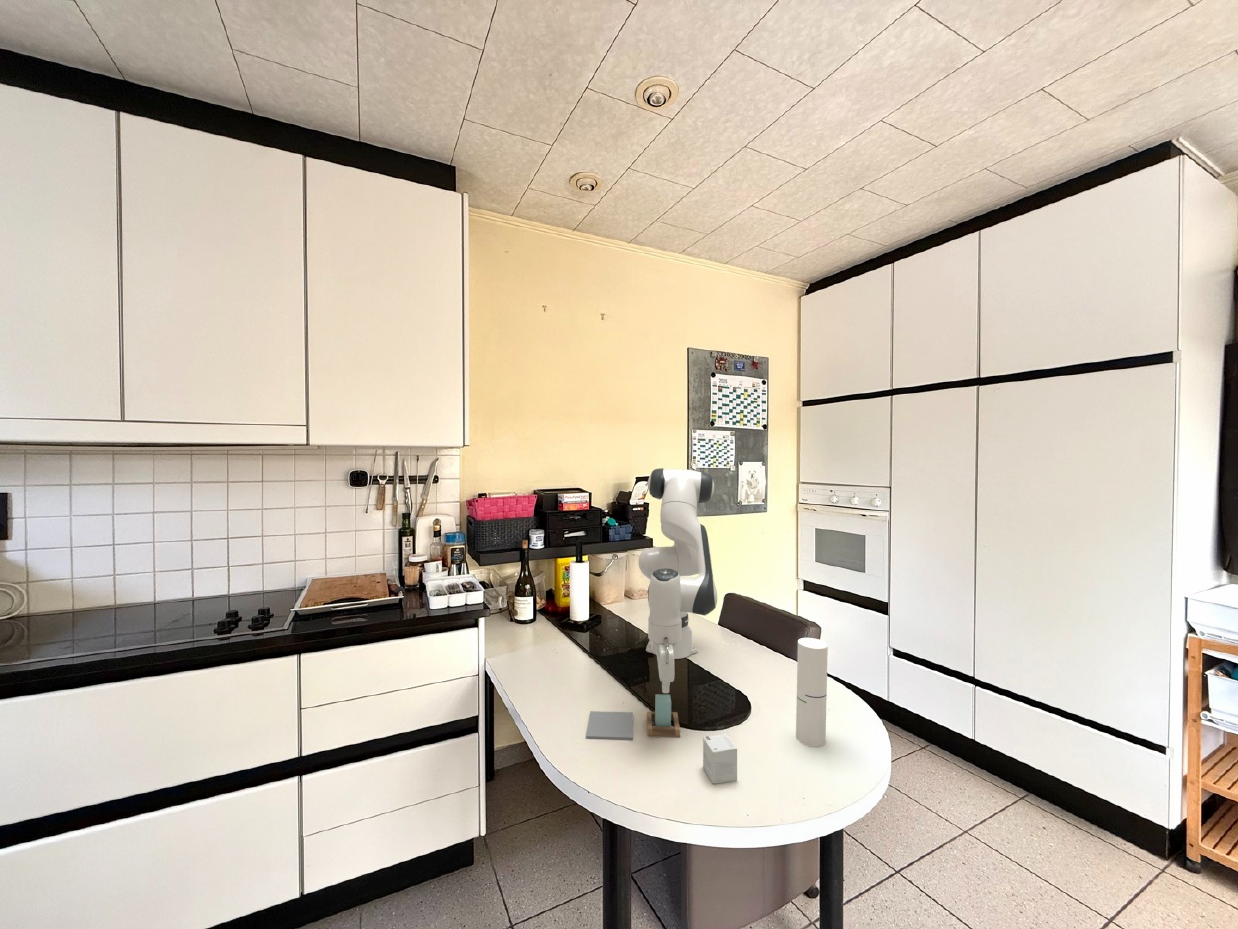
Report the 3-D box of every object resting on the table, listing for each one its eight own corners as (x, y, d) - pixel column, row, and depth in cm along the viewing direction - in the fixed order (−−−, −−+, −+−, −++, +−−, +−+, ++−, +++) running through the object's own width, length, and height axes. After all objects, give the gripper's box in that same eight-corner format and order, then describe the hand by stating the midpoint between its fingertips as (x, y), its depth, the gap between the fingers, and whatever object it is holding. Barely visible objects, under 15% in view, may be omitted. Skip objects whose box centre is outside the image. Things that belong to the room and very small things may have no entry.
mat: (590, 713, 137) (590, 711, 137) (633, 714, 136) (633, 712, 136) (586, 738, 125) (586, 736, 125) (632, 740, 124) (632, 737, 124)
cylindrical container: (822, 750, 121) (825, 651, 120) (793, 741, 124) (795, 644, 124) (827, 736, 127) (829, 641, 126) (799, 727, 130) (801, 635, 130)
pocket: (646, 718, 134) (646, 711, 134) (677, 719, 134) (677, 712, 134) (647, 736, 126) (647, 728, 126) (679, 737, 126) (680, 729, 125)
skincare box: (737, 781, 109) (738, 748, 109) (712, 784, 108) (712, 752, 108) (726, 764, 115) (726, 733, 115) (702, 767, 114) (702, 736, 114)
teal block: (655, 723, 132) (655, 694, 132) (669, 723, 132) (670, 694, 132) (655, 731, 128) (656, 702, 128) (670, 732, 128) (671, 702, 128)
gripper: (680, 647, 119) (680, 703, 119) (673, 619, 139) (673, 667, 139) (654, 646, 119) (654, 702, 119) (651, 619, 139) (651, 667, 139)
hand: (664, 683), depth 129 cm, fingers open, 8 cm apart
